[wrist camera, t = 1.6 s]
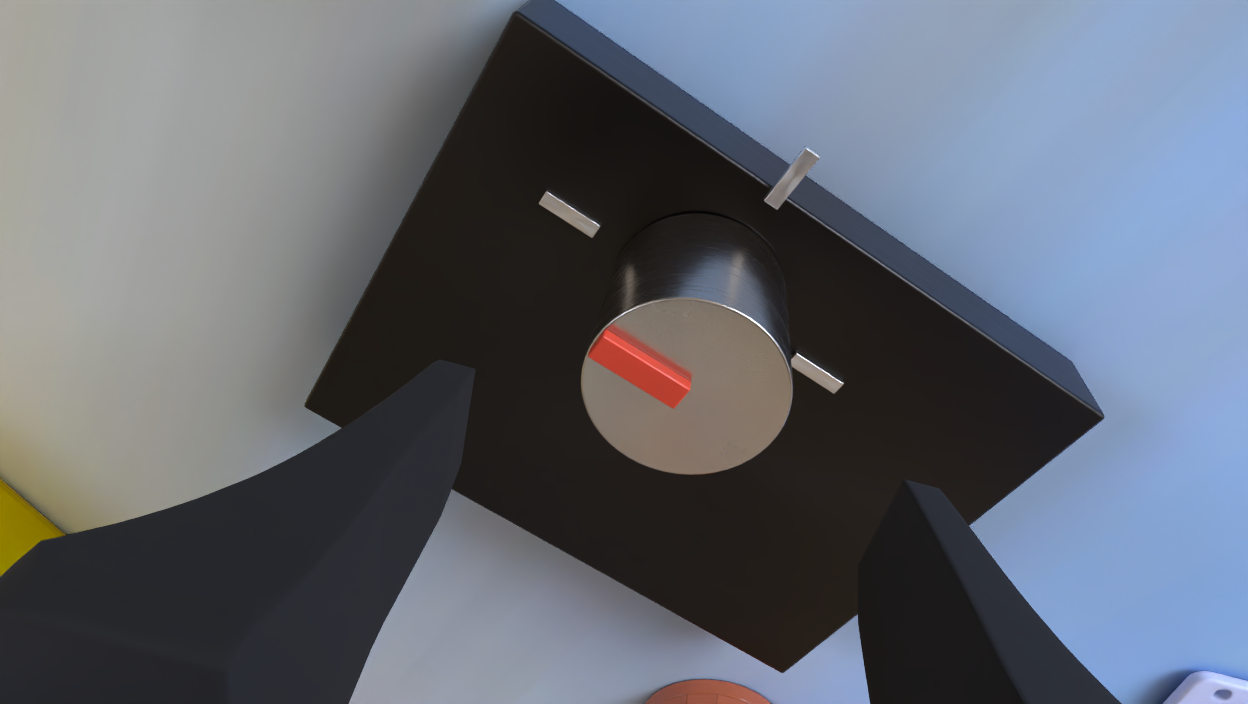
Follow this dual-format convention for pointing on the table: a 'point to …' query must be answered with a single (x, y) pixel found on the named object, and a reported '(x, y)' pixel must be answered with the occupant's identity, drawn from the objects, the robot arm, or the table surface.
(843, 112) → the table surface
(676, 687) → the orange stave barrel
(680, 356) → the dial
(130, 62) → the table surface
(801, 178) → the warming plate
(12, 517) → the element tile
